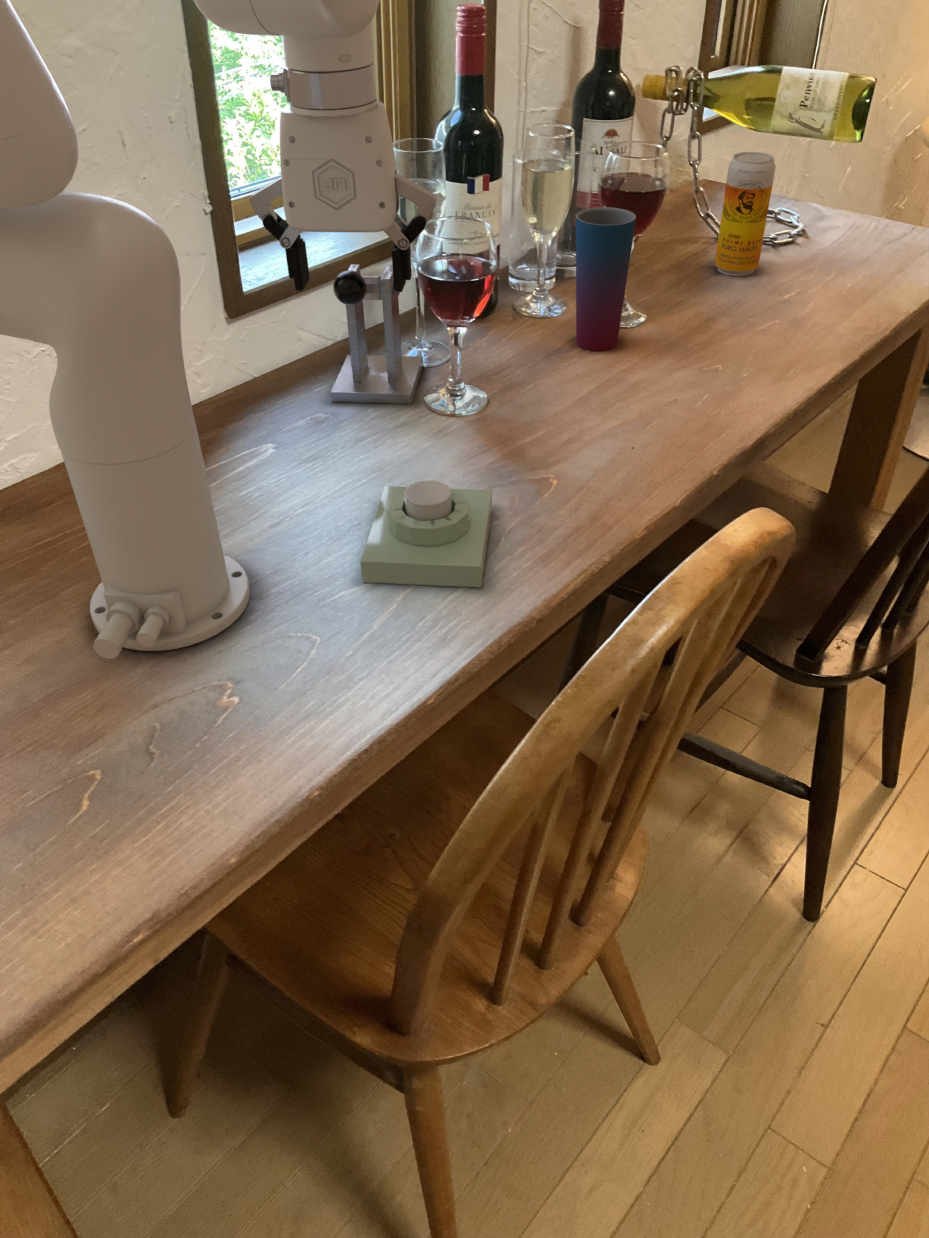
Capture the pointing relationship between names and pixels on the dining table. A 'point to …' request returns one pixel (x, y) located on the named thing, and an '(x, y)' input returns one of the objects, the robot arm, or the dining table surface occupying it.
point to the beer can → (744, 213)
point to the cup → (601, 274)
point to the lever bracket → (374, 373)
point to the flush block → (428, 542)
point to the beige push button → (428, 500)
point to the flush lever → (356, 287)
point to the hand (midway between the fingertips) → (351, 286)
